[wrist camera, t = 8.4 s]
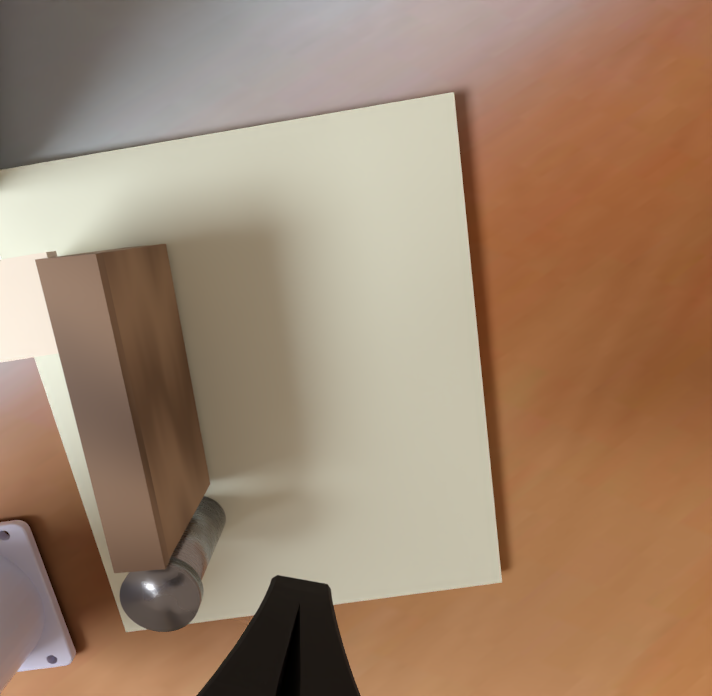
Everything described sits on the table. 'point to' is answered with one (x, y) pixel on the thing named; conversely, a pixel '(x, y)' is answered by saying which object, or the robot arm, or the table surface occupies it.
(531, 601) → the table surface
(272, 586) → the robot arm
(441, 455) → the board
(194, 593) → the post
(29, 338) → the cream upright block
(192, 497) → the brown wooden block
